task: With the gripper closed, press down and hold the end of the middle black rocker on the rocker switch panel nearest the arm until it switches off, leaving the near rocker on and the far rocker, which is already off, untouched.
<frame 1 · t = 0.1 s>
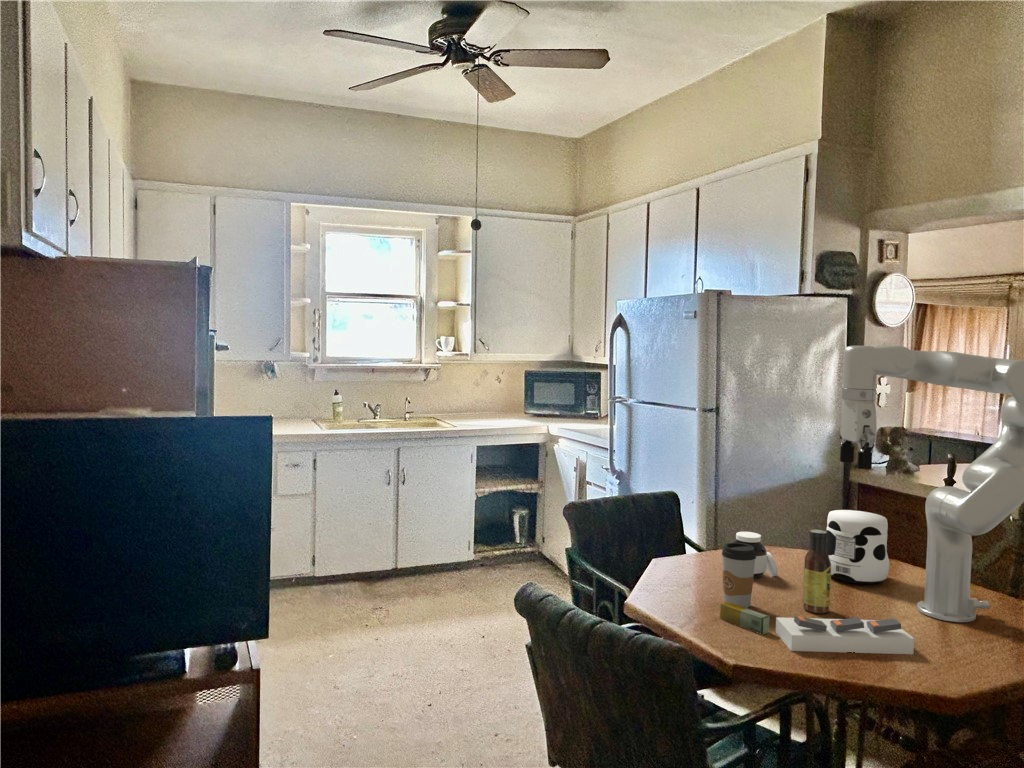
hand: (855, 465, 178), 37 cm above the table, tool pointing down, fingers open, 9 cm apart
coffee cup: (736, 605, 183), on the table
milk container: (854, 579, 206), on the table
spread jar: (754, 575, 208), on the table
sauce bottle: (815, 610, 181), on the table
rocker near: (883, 625, 158), point 5 cm above the table, hinge at 10.0°
medication box: (743, 626, 170), on the table
rocker switch panel: (842, 642, 161), on the table
rocker far: (810, 623, 159), point 5 cm above the table, hinge at -10.0°
rocker middle: (847, 624, 158), point 5 cm above the table, hinge at 10.0°
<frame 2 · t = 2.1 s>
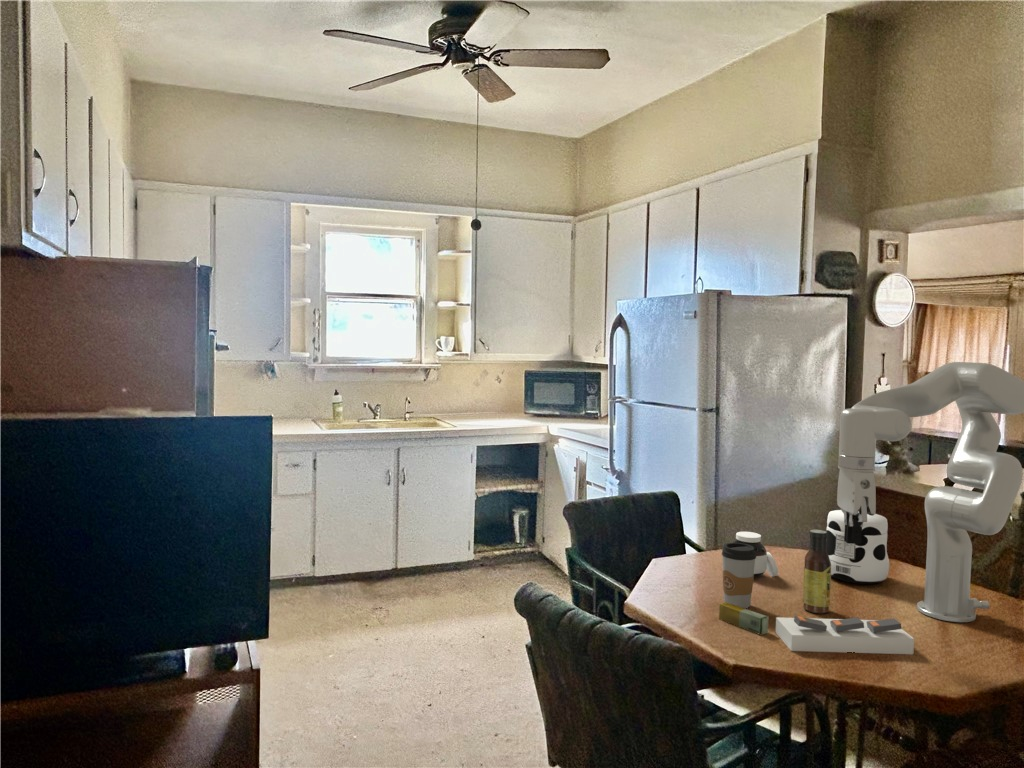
hand: (852, 542, 165), 21 cm above the table, tool pointing down, fingers closed
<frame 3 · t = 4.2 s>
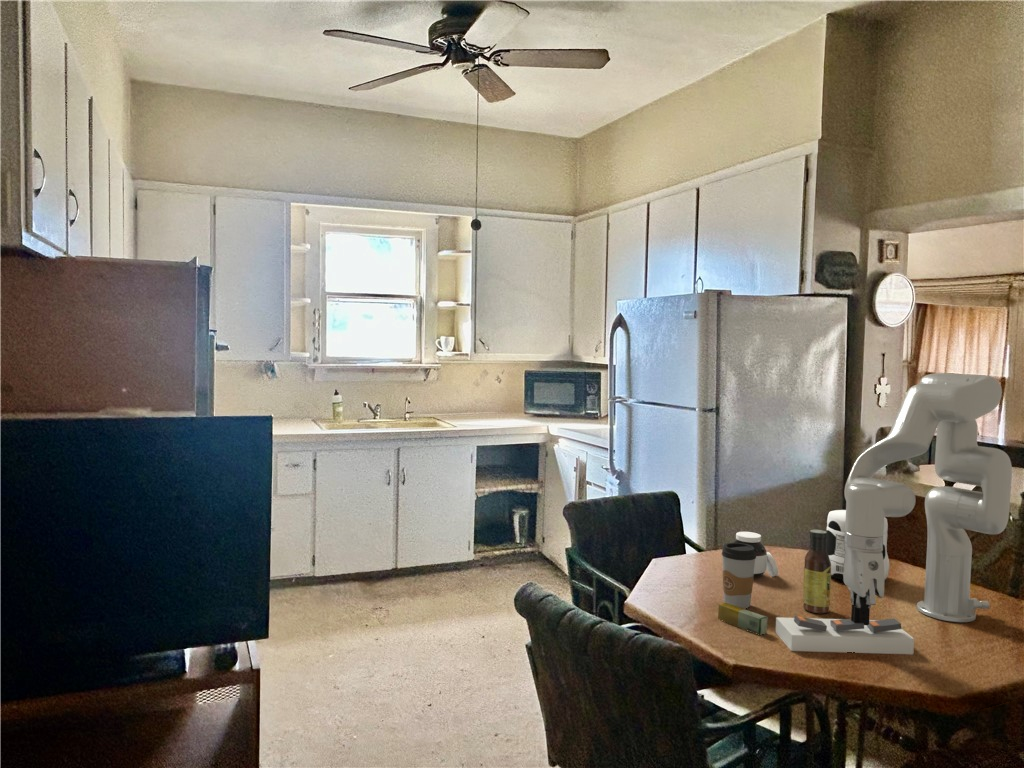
hand: (859, 623, 158), 5 cm above the table, tool pointing down, fingers closed
rocker middle: (847, 624, 158), point 5 cm above the table, hinge at 6.9°, touching gripper
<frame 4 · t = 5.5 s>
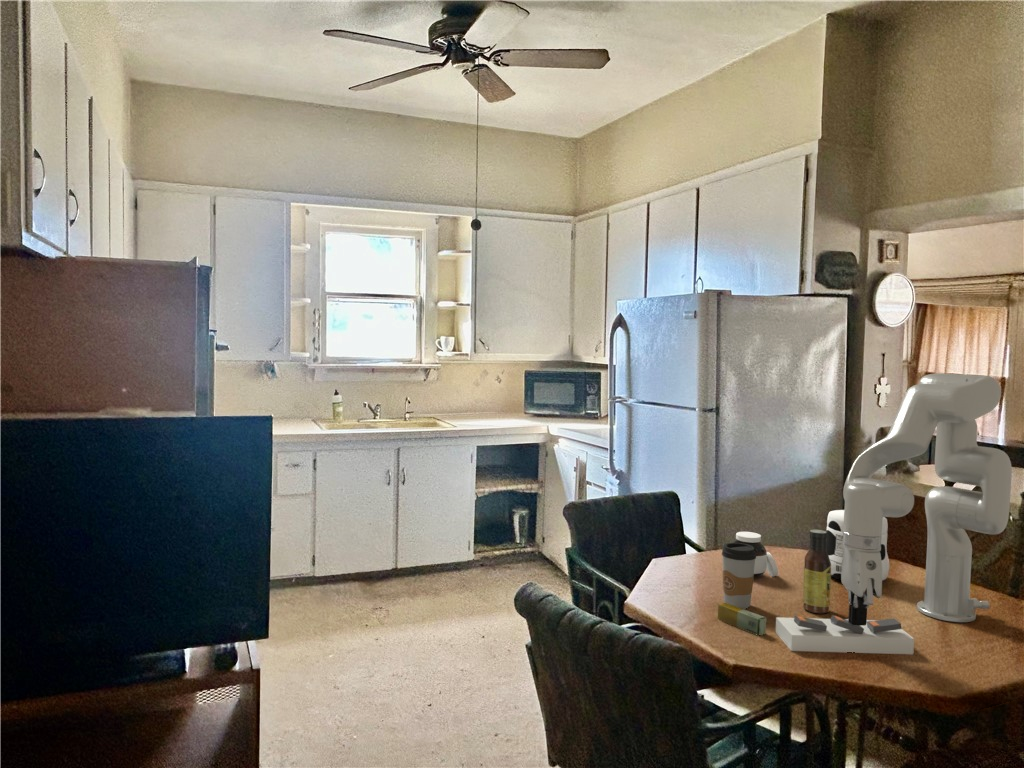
hand: (857, 623, 158), 5 cm above the table, tool pointing down, fingers closed
rocker middle: (847, 624, 158), point 5 cm above the table, hinge at -17.3°, touching gripper
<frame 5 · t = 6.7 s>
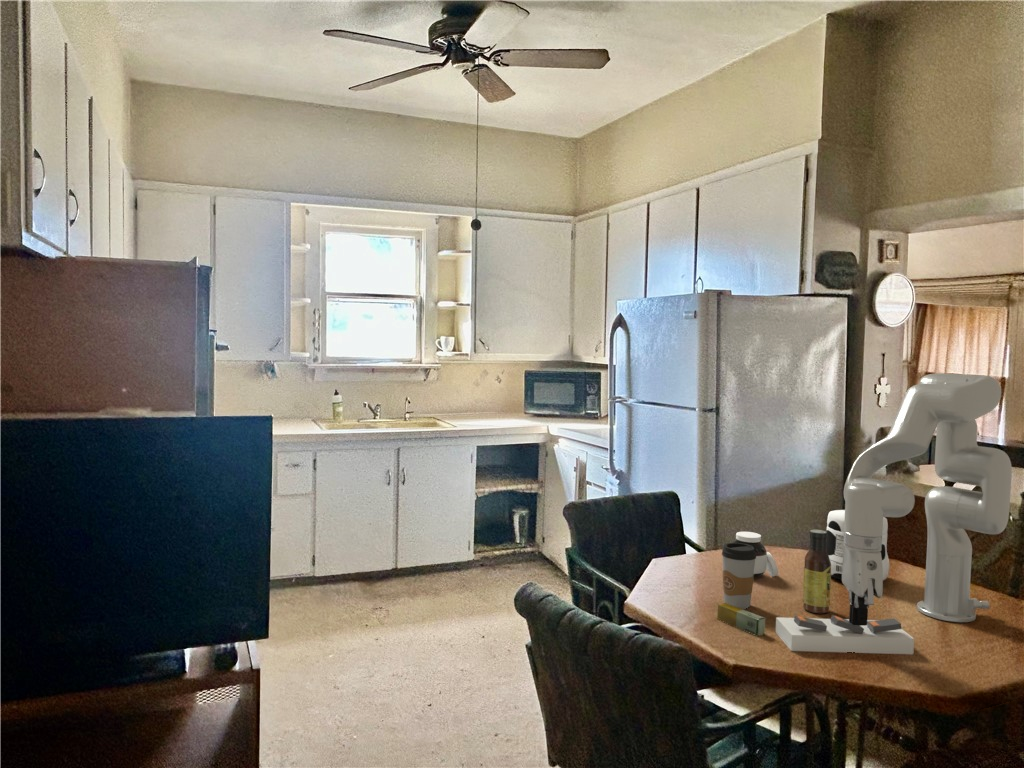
hand: (857, 623, 158), 5 cm above the table, tool pointing down, fingers closed
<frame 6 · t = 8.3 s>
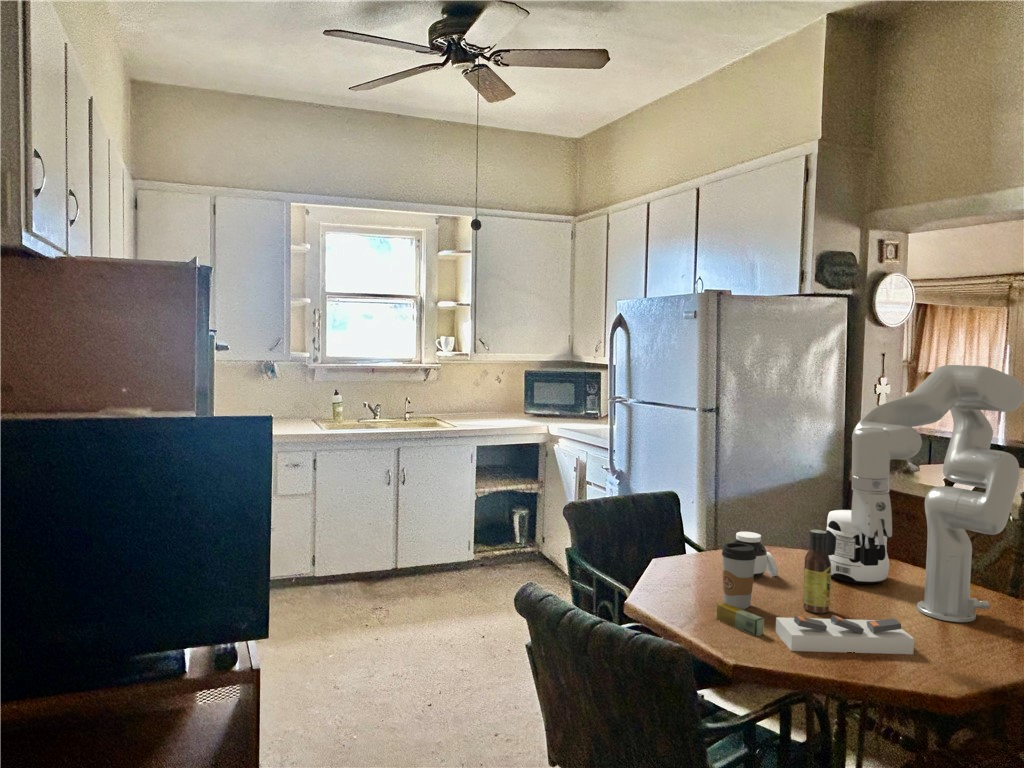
hand: (869, 564, 162), 17 cm above the table, tool pointing down, fingers closed
rocker middle: (847, 624, 158), point 5 cm above the table, hinge at -18.7°, touching rocker switch panel
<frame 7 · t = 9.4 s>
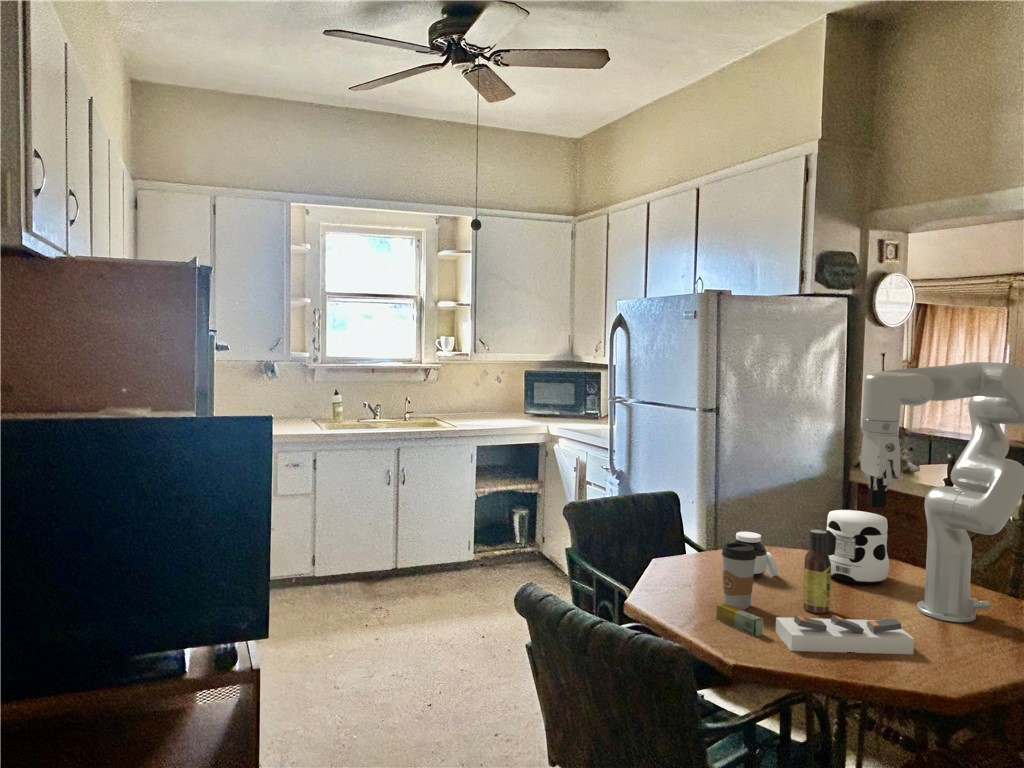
hand: (876, 506, 167), 29 cm above the table, tool pointing down, fingers closed
rocker middle: (847, 624, 158), point 5 cm above the table, hinge at -19.2°, touching rocker switch panel
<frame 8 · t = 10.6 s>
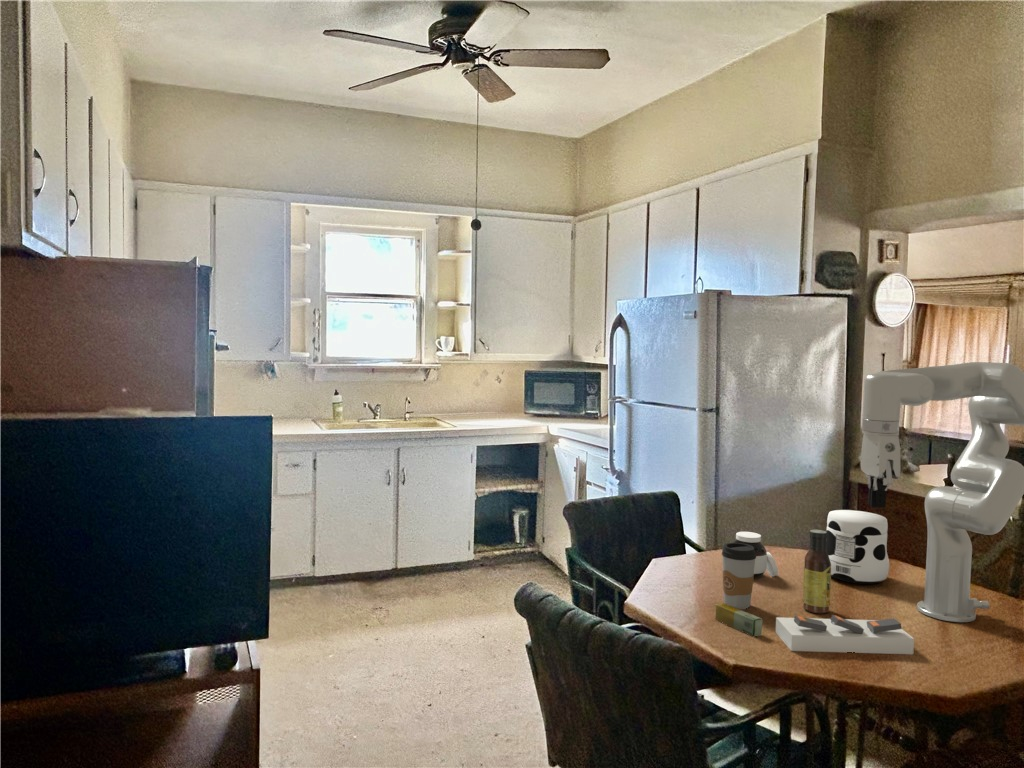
hand: (876, 506, 167), 29 cm above the table, tool pointing down, fingers closed
at the end: rocker middle at -19° (first picture: +10°); rocker near at +10° (first picture: +10°); rocker far at -10° (first picture: -10°) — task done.
